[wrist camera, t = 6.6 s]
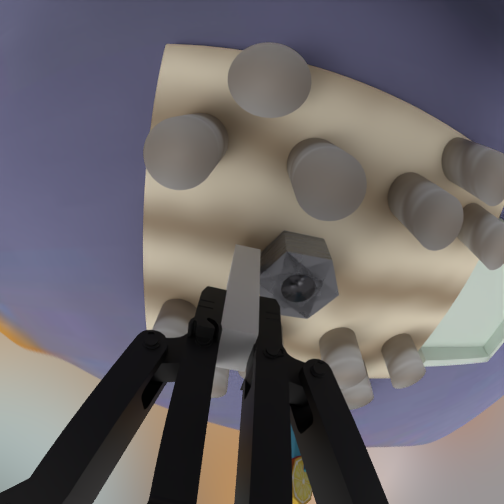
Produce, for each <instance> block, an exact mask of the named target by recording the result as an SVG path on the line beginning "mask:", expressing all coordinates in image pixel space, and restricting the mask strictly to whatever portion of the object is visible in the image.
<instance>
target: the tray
mask: <svg viewBox="0 0 504 504" xmlns="http://www.w3.org/2000/svg"><path fill="white" fill-rule="evenodd" d="M499 220H501V221H502V222H503V223H504V220H503V219H501V218H500V217H499ZM503 343H504V264H503V265H502V266H501V267H499V268H498V269H496V270H489V269H488V268H487V267H486V266H485V265H484V264H483V263H482V262H481V261H480V260H479V261H478V262H477V264H476V266H475V268H474V270H473V272H472V273H471V275H470V277H469V279H468V280H467V282H466V284H465V285H464V287H463V289H462V290H461V292H460V293H459V295H458V297H457V298H456V300H455V301H454V303H453V304H452V306H451V307H450V309H449V310H448V312H447V313H446V315H445V316H444V317H443V319H442V320H441V322H440V323H439V324H438V326H437V327H436V329H435V330H434V331H433V333H432V334H431V335H430V336H429V338H428V339H427V340H426V342H425V343H424V344H423V345H422V347H421V348H420V349H419V350H418V353H419V355H420V358H421V360H422V362H423V365H424V367H425V366H446V365H460V364H471V363H481V362H488V360H489V359H490V358H491V357H492V356H493V355H494V354H495V352H496V351H497V350H498V349H499V348H500V346H501V345H502V344H503Z"/></svg>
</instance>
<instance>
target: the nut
mask: <svg viewBox="0 0 504 504" xmlns="http://www.w3.org/2000/svg"><path fill="white" fill-rule="evenodd" d="M260 296H263V297H268V298H273V299H276V300H277V302H278V304H279V305H280V313H281V314H280V315H283V316H290V317H297V318H304V319H308V318H309V317H311V316H312V315H314V314H315V313H316V312H318V311H319V310H320V309H322V308H323V307H324V306H326V305H327V304H328V303H330V302H331V301H332V300H334V299H335V298H336V297H337V296H339V292H338V286H337V281H336V276H335V271H334V266H333V261H332V258H331V255H330V253H329V250H328V247H327V245H326V242H325V240H324V239H323V238H318V237H314V236H309V235H304V234H299V233H295V232H290V231H285V230H284V231H283V232H282V233H281V234H280V235H279V236H277V237H276V238H275V239H274V240H273V241H272V242H271V243H270V244H269V245H268V246H267V247H266V248H265V249H264V250H263V251H262V252H261V253H260Z"/></svg>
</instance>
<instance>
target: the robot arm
mask: <svg viewBox="0 0 504 504" xmlns="http://www.w3.org/2000/svg"><path fill="white" fill-rule="evenodd" d="M260 252H261V249H256V248H251V247H247V246H242V245H237V244H236V245H235V250H234V254H233V259H232V263H231V268H230V273H229V277H228V282H227V287H226V290H224V289H220V288H215V287H210V286H207V287H206V288H205V289H204V290H203V291H202V292H201V295H200V299H199V302H198V306H197V309H196V313H195V316H194V317H193V318H192V319H191V320H190V321H189V323H188V333H187V334H185V335H184V336H181V337H175V338H166V337H165V335H164V334H162V333H161V332H159V331H156V330H146V331H143V332H141V333H140V334H139V335H137V337H136V338H135V339H134V340H133V341H132V343H131V344H130V345H129V346H128V348H127V349H126V350H125V351H124V353H123V354H122V355H121V356H120V358H119V359H118V360H117V361H116V362H115V364H114V365H113V366H112V368H111V369H110V370H109V371H108V373H107V374H106V375H105V376H104V378H103V379H102V380H101V381H100V383H99V384H98V385H97V387H96V388H95V389H94V391H93V392H92V393H91V394H90V396H89V397H88V398H87V399H86V401H85V402H84V403H83V405H82V406H81V407H80V409H79V410H78V411H77V413H76V414H75V415H74V417H73V418H72V419H71V421H70V422H69V423H68V425H67V426H66V427H65V429H64V430H63V431H62V433H61V434H60V436H59V437H58V438H57V440H56V441H55V443H54V444H53V446H52V447H51V448H50V450H49V451H48V452H47V454H46V455H45V457H44V458H43V459H42V461H41V462H40V464H39V465H38V467H37V468H36V469H35V471H34V472H33V474H32V475H31V477H30V478H29V479H27V480H25V481H23V482H21V483H19V484H17V485H15V486H13V487H11V488H9V489H7V490H5V491H3V492H1V493H0V504H92V503H93V502H94V500H95V499H96V497H97V495H98V494H99V492H100V490H101V489H102V487H103V485H104V484H105V482H106V481H107V479H108V477H109V475H110V474H111V473H112V471H113V469H114V468H115V466H116V464H117V463H118V461H119V459H120V458H121V456H122V455H123V453H124V451H125V450H126V448H127V446H128V445H129V443H130V442H131V440H132V438H133V437H134V435H135V433H136V432H137V430H138V429H139V427H140V425H141V424H142V422H143V420H144V419H145V417H146V416H147V414H148V412H149V411H150V409H151V407H152V406H153V404H154V403H155V401H156V399H157V398H158V396H159V395H160V393H161V391H162V390H163V388H164V386H165V385H166V383H167V382H175V385H174V389H173V393H172V397H171V401H170V405H169V409H168V414H167V418H166V422H165V427H164V431H163V435H162V439H161V444H160V449H159V453H158V458H157V462H156V467H155V472H154V477H153V482H152V487H151V492H150V497H149V501H148V503H147V504H196V502H197V494H198V486H199V478H200V472H201V464H202V457H203V449H204V442H205V435H206V428H207V421H208V414H209V407H210V401H211V394H212V387H213V381H214V374H215V368H216V367H220V368H225V369H230V370H236V371H242V372H245V369H246V376H245V379H244V381H243V384H242V386H241V389H240V390H243V395H242V409H241V422H240V436H239V449H238V464H237V476H236V489H235V503H234V504H293V496H292V448H291V426H292V429H293V432H294V435H295V439H296V442H297V445H298V448H299V451H300V454H301V457H302V461H303V464H304V467H305V470H306V473H307V476H308V479H309V482H310V485H311V488H312V492H313V495H314V497H315V501H316V504H389V503H388V501H387V498H386V496H385V493H384V491H383V488H382V486H381V483H380V481H379V478H378V476H377V473H376V471H375V469H374V466H373V464H372V461H371V459H370V457H369V454H368V452H367V449H366V447H365V445H364V442H363V440H362V438H361V435H360V433H359V431H358V428H357V426H356V424H355V421H354V419H353V417H352V414H351V412H350V410H349V407H348V405H347V403H346V401H345V398H344V396H343V394H342V392H341V389H340V387H339V385H338V383H337V380H336V378H335V376H334V374H333V371H332V369H331V368H330V366H329V365H328V364H327V363H326V362H324V361H323V360H320V359H310V360H308V361H306V362H302V361H300V360H297V359H295V358H293V357H291V356H290V355H289V354H288V353H287V352H286V349H285V348H284V347H283V344H282V329H281V315H280V314H281V313H280V305H279V304H278V302H277V300H276V299H273V298H268V297H263V296H259V295H260Z"/></svg>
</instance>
